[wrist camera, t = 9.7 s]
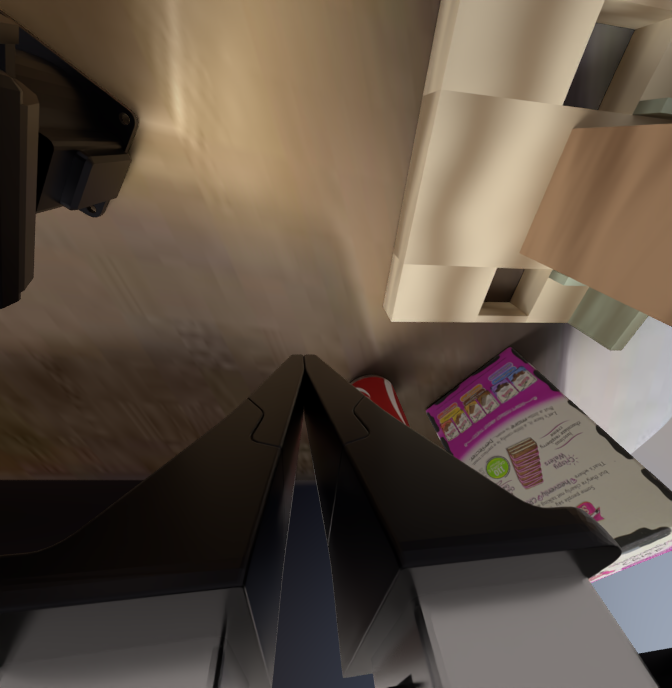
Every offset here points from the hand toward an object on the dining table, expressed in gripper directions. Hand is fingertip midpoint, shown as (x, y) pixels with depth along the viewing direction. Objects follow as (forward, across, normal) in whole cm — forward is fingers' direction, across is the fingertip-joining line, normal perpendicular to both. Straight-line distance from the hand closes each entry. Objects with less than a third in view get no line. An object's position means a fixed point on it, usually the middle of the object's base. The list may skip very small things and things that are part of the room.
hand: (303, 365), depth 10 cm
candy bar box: (+14, +19, -14) cm, 27 cm away
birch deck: (+13, +16, +5) cm, 21 cm away
